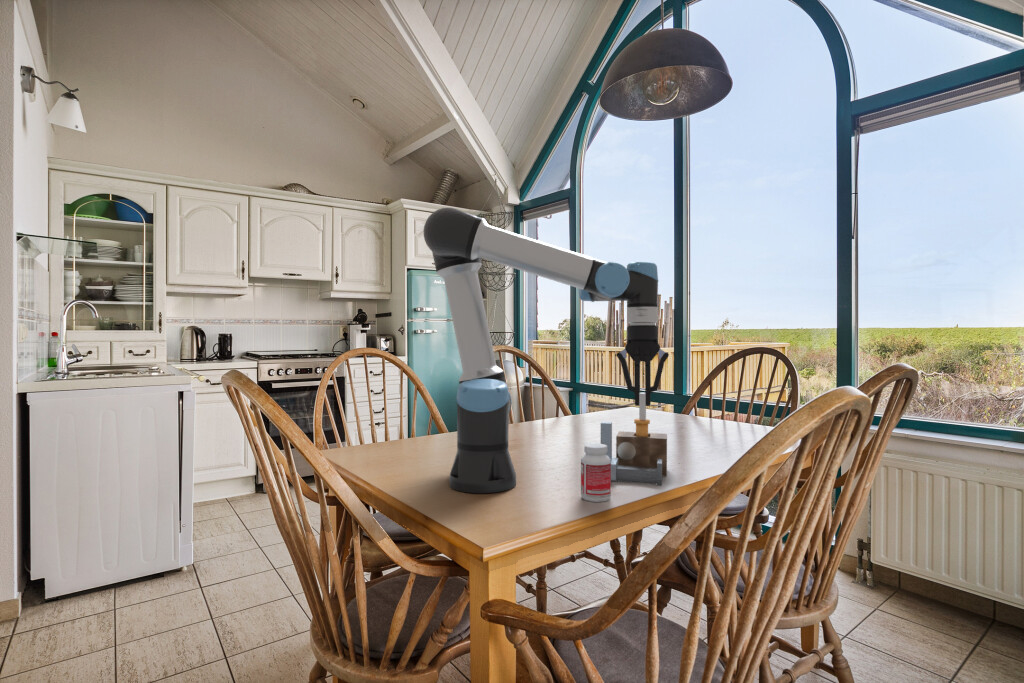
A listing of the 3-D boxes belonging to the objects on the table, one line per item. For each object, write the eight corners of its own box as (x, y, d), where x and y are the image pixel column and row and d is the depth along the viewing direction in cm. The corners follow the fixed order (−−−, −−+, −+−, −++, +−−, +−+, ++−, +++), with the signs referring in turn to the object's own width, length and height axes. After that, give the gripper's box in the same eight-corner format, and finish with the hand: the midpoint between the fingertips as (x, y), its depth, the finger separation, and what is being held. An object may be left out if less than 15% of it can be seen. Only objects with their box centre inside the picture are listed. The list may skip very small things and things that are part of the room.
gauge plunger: (633, 448, 134) (633, 420, 134) (634, 445, 137) (634, 418, 137) (649, 449, 133) (649, 421, 132) (650, 446, 136) (650, 419, 136)
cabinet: (616, 472, 133) (616, 436, 133) (618, 465, 140) (618, 431, 140) (666, 476, 130) (666, 439, 130) (666, 469, 137) (667, 433, 136)
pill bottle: (616, 499, 111) (617, 446, 111) (594, 504, 108) (594, 449, 108) (596, 492, 117) (596, 441, 116) (574, 496, 113) (574, 444, 113)
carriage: (593, 479, 125) (593, 424, 125) (597, 472, 132) (597, 419, 131) (615, 481, 124) (615, 425, 123) (618, 473, 130) (618, 420, 130)
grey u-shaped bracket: (586, 479, 126) (586, 458, 126) (589, 474, 131) (589, 454, 131) (661, 485, 122) (661, 463, 121) (662, 480, 126) (662, 458, 126)
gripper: (614, 324, 133) (614, 420, 133) (669, 324, 129) (669, 422, 129) (617, 325, 140) (617, 415, 140) (669, 324, 136) (669, 417, 137)
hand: (642, 418), depth 135 cm, fingers closed
